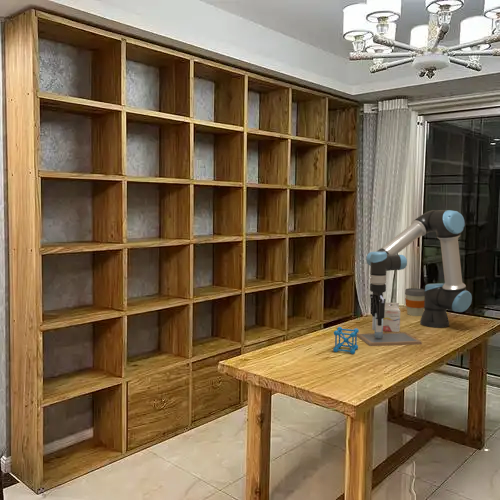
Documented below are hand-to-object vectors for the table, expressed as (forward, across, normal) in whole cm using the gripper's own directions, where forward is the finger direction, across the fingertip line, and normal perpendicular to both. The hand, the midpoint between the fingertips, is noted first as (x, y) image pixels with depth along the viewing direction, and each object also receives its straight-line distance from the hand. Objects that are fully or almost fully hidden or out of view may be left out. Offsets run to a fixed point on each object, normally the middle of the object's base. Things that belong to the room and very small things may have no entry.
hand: (376, 330), depth 260 cm
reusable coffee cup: (+6, -54, +47) cm, 72 cm away
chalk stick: (+3, 0, +1) cm, 4 cm away
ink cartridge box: (+6, -18, +16) cm, 25 cm away
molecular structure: (+5, +14, -21) cm, 26 cm away
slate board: (+5, 0, +6) cm, 8 cm away
